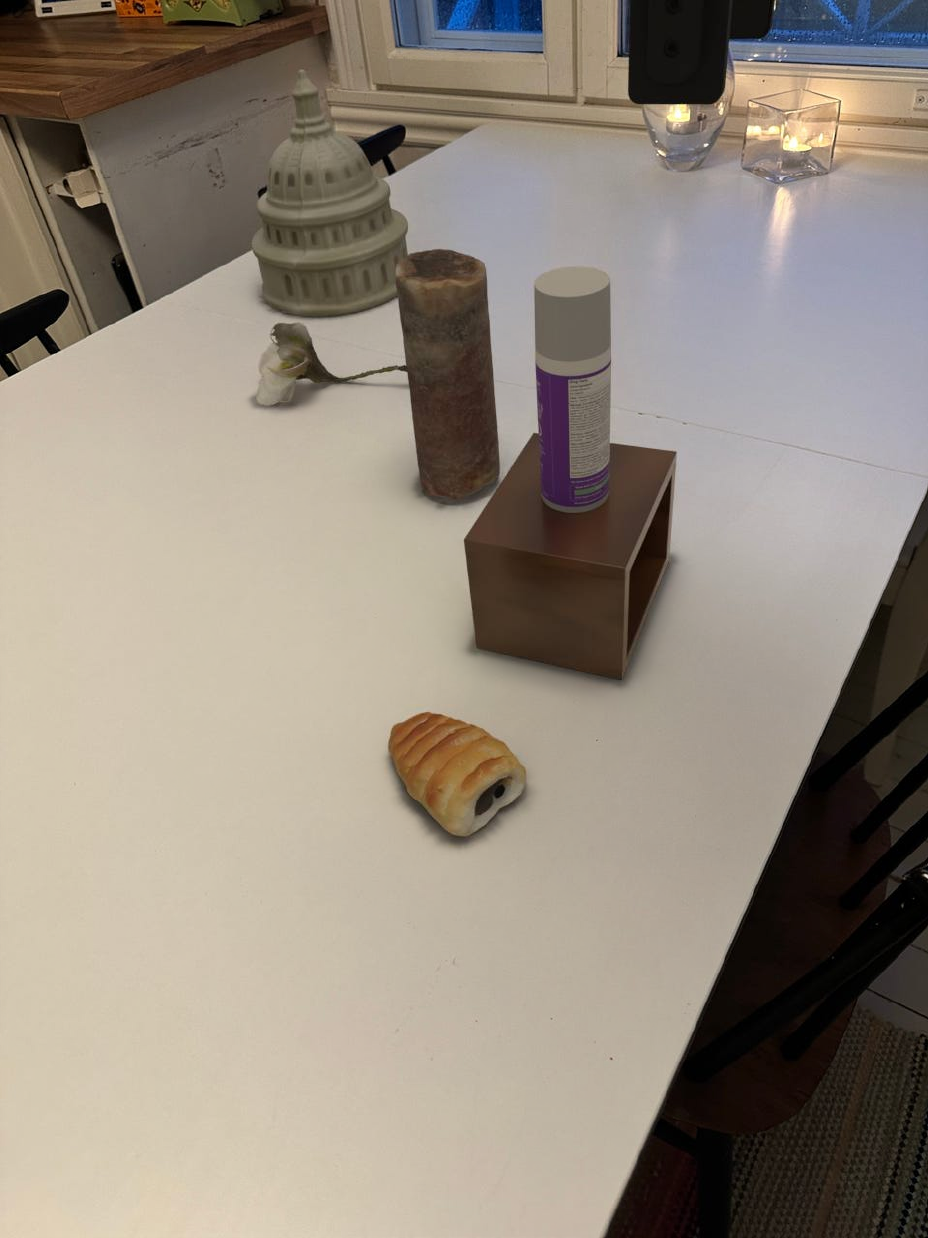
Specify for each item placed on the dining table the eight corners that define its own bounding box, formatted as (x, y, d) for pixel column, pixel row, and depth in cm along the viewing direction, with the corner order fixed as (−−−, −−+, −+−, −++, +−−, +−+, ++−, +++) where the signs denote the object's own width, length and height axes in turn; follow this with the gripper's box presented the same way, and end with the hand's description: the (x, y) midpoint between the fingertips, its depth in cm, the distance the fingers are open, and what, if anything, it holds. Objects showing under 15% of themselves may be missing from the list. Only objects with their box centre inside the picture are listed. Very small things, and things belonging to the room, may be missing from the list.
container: (529, 486, 65) (518, 277, 55) (588, 467, 66) (587, 258, 56) (560, 521, 62) (554, 304, 52) (621, 500, 63) (627, 284, 53)
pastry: (365, 766, 61) (356, 727, 58) (442, 711, 64) (436, 672, 61) (460, 852, 55) (455, 813, 53) (540, 786, 58) (538, 746, 56)
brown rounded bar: (468, 450, 88) (446, 238, 75) (519, 479, 84) (506, 259, 71) (404, 483, 85) (370, 267, 72) (454, 515, 81) (428, 291, 67)
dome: (322, 42, 116) (423, 58, 104) (356, 243, 133) (446, 277, 120) (180, 79, 107) (271, 101, 95) (235, 290, 124) (318, 332, 112)
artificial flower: (455, 419, 96) (426, 344, 88) (263, 432, 103) (220, 364, 95) (469, 359, 100) (443, 282, 92) (284, 375, 107) (245, 305, 99)
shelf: (669, 559, 74) (677, 451, 67) (621, 680, 64) (625, 568, 58) (538, 536, 77) (533, 432, 71) (475, 648, 68) (463, 539, 61)
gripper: (892, -903, 17) (770, 136, 28) (935, -647, 28) (836, 16, 39) (501, -768, 19) (535, 133, 31) (687, -585, 31) (661, 21, 42)
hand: (705, 66), depth 35 cm, fingers open, 9 cm apart
